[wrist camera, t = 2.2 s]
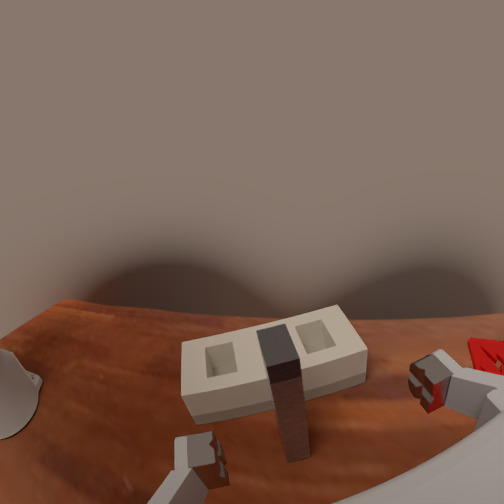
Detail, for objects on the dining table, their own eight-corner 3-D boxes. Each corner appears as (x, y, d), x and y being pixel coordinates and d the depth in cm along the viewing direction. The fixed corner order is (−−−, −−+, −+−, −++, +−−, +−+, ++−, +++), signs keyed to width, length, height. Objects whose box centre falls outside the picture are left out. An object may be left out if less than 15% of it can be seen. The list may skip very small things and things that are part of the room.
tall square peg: (310, 457, 29) (299, 358, 23) (287, 463, 29) (266, 366, 23) (300, 427, 33) (285, 323, 27) (279, 432, 33) (256, 330, 27)
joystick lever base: (196, 425, 36) (181, 395, 33) (194, 372, 45) (181, 342, 43) (365, 381, 38) (367, 348, 35) (338, 336, 47) (337, 304, 44)
